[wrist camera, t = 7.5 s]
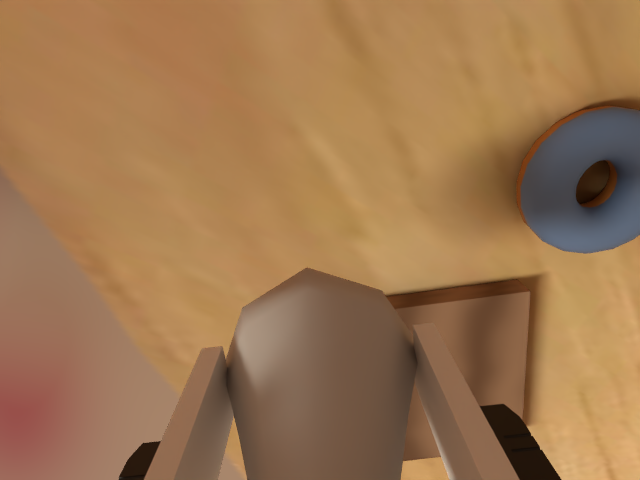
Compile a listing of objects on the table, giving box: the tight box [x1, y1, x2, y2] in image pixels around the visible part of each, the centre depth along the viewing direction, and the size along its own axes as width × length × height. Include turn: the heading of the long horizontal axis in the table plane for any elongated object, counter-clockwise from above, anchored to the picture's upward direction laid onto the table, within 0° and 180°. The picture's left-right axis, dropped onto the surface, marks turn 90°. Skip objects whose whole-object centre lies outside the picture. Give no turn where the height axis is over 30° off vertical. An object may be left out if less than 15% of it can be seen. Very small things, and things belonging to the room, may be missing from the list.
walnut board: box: [387, 279, 530, 461], centre depth 33 cm, size 20×16×2 cm
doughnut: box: [517, 105, 640, 253], centre depth 26 cm, size 10×10×5 cm
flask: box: [226, 268, 417, 480], centre depth 10 cm, size 7×7×10 cm
